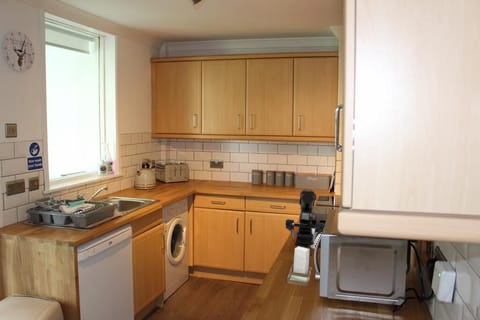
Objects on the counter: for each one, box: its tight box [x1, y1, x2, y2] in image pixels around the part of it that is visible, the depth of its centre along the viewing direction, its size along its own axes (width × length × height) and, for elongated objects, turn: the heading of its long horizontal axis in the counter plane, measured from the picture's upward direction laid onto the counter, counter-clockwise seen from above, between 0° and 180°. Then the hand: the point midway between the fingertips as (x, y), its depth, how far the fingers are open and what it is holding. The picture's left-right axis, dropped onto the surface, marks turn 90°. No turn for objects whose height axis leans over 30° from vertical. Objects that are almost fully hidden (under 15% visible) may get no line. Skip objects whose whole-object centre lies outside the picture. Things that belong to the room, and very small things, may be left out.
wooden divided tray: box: [286, 264, 313, 287], centre depth 196 cm, size 18×10×2 cm, turn 166°
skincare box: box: [292, 245, 311, 274], centre depth 200 cm, size 6×4×12 cm
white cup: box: [310, 229, 321, 250], centre depth 236 cm, size 8×8×10 cm
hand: (303, 242), depth 204 cm, fingers open, 9 cm apart
